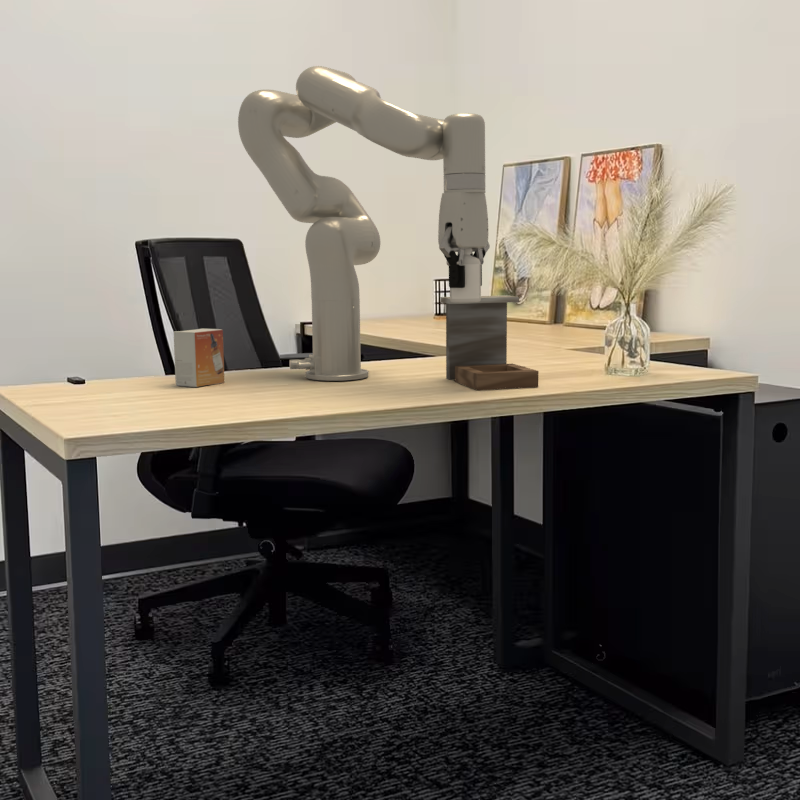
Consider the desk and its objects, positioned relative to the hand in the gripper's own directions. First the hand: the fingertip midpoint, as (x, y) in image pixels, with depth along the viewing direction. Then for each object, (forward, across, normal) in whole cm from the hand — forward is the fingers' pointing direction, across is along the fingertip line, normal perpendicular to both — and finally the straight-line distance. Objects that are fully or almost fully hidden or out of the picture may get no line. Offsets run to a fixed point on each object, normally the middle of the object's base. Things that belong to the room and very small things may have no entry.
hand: (465, 286), depth 177 cm
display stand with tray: (+19, -7, 0) cm, 20 cm away
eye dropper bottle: (+3, 0, 0) cm, 3 cm away
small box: (+18, +26, -44) cm, 54 cm away
